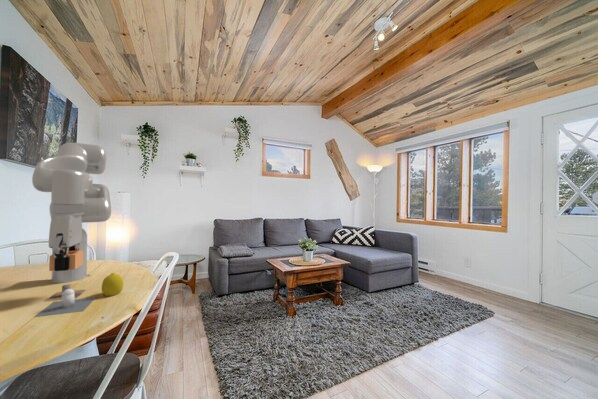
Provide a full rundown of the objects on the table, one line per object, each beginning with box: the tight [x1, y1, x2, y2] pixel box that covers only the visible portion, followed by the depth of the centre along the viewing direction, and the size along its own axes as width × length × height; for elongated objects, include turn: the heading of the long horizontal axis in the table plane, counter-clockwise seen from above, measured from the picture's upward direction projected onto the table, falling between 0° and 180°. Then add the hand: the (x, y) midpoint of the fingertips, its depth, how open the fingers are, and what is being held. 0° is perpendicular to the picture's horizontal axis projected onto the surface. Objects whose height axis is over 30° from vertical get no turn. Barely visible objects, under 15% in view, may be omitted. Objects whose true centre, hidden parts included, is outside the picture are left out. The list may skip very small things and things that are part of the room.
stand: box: [43, 284, 86, 303], centre depth 77 cm, size 8×8×4 cm
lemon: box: [101, 272, 124, 297], centre depth 79 cm, size 6×6×8 cm
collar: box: [48, 250, 83, 272], centre depth 78 cm, size 6×6×4 cm
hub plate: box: [33, 288, 97, 318], centre depth 70 cm, size 10×10×6 cm
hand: (67, 266), depth 78 cm, fingers closed on collar, 6 cm apart
